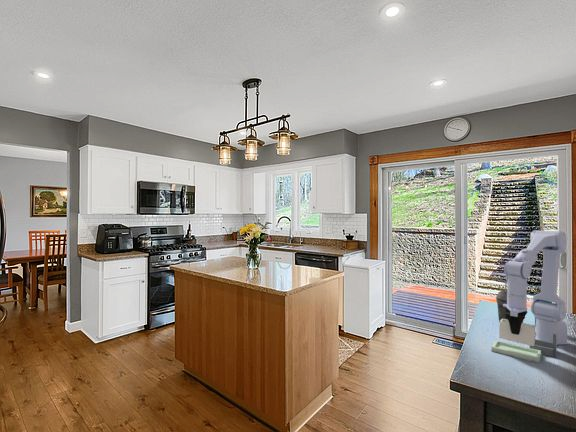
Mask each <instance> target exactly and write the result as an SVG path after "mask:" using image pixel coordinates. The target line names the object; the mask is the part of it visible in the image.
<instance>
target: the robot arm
mask: <svg viewBox="0 0 576 432" xmlns="http://www.w3.org/2000/svg"><path fill="white" fill-rule="evenodd" d="M529 240H530V242H529V243H528V245H527V247H526V248H523V249H521V250H520V251H519V252H518V253H517V254H516V256H515V257H514V258H513V259H512V260H508V261H507V262H505V264H504V268H503V272H504V276H505V281H507V286H506V291H507V304H503V307H507V308H508V311H509V313H508V312H506V313H505V315H506V317H507V319H508V321H509V325H510V329H511V333H512V334H516V335H519V333H520V329H521V324H522V323H524V320H525V318H526V315H527V314H528V307H527V304H528V303H527V300H528V299H527V297H528V295H527V293H528V292H527V291H528V287H527V286H528V278H530V276H531V272H532V270H533V266H534V264H535V263H536V261H538V254H539V253H540V252H542V253H543V263H542V274H541V284H540V285H541V287H540V293H536V294H537V295H536V294H535V295H533V297H532V301H531V303H530V311H531V313H532V314H533V315H534V318H535V317H536V328H535V339H538V340H542V341H547V342H551V343H553V331H554V328H555V329H557V343H556V346H558V345H559V346H560V345H570V342H568V325H567V323H566V322H565V318H566V315H567V308H566V302H565V300H564V299H562V298H561V297H560V296H558V295H557V293H558V285H559V283H558V282H559V271H560V270H559V269H560V261H561V259H560V257H561V254H564V253H565V252H566V249H567V236H566V234H565V232H563V231H562V230H558V231H556V230H537V229H534V230H533V231H531V232H530V236H529ZM541 300H545V301H550V302H552V303H550V302H545V301H541Z"/></svg>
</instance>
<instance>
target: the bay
mask: <svg viewBox="0 0 576 432" xmlns="http://www.w3.org/2000/svg"><path fill="white" fill-rule="evenodd" d="M556 343H557V329H555V328H554V331H553V343H551V342H547V341H542V340H538V339H535V344H534V346H530V345H529V348H532V349H536V350H540V351H541V355H545V356H549V357H554V358H556V357H557V345H556Z"/></svg>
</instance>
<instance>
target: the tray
mask: <svg viewBox="0 0 576 432" xmlns="http://www.w3.org/2000/svg"><path fill="white" fill-rule="evenodd" d="M491 351H492V352H495V353H499V354H503V355H506V356H510V357H514V358H518V359H521V360H525V361H529V362H534V363H538V364H540V362H541V356H542V354H541V351H540V350H536V349H532V348H530V347H528V346H527V347H526V346H523V345H518V344H515V343H514V344H513V343H511V342H505V341H501V340H495V341H494V342H493V344H492V345H491Z"/></svg>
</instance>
